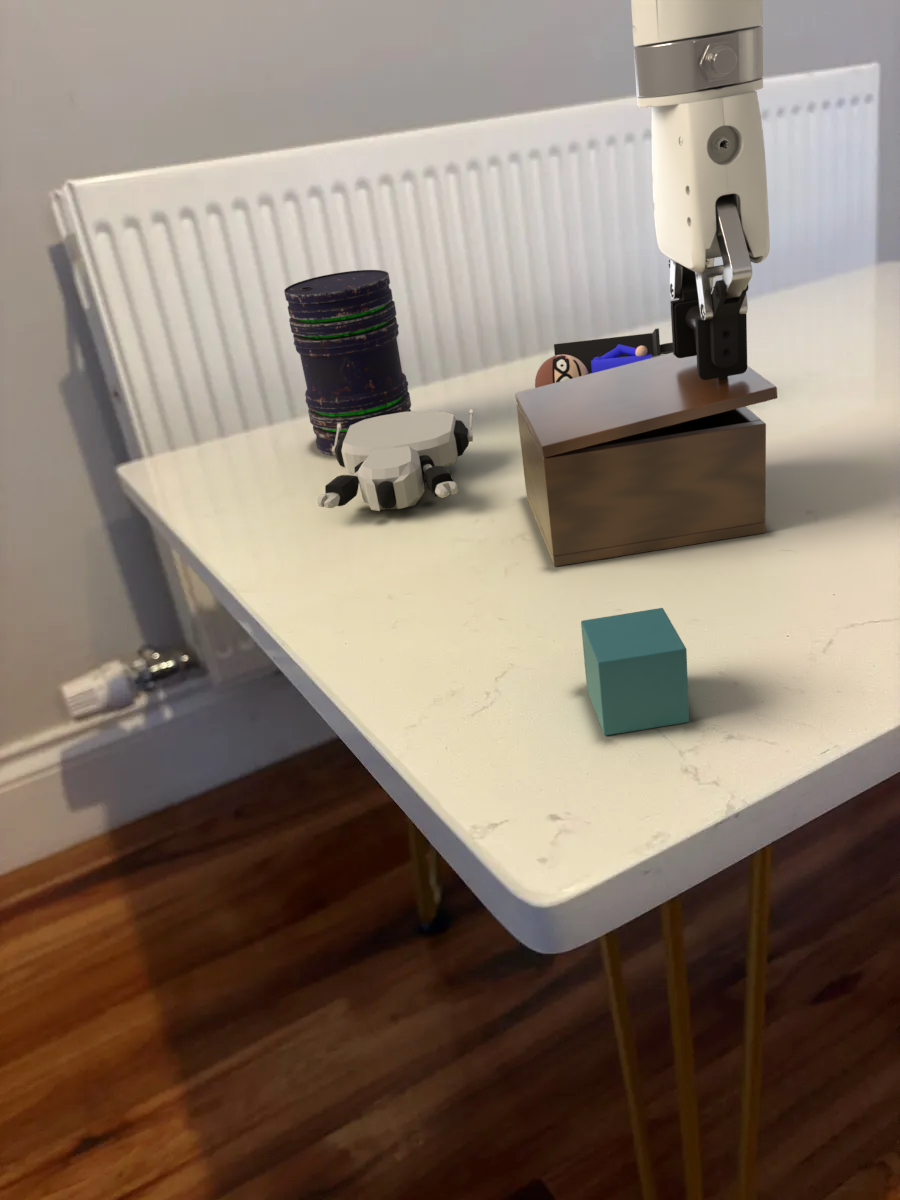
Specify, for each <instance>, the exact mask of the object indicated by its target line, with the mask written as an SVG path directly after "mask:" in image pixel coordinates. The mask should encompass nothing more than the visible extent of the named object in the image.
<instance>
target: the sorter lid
mask: <svg viewBox="0 0 900 1200" xmlns="http://www.w3.org/2000/svg"><path fill="white" fill-rule="evenodd" d="M698 318H701V315H700V307H699V306H694V307H692V308H690V309H689V310H688V312H687V314H686V317H685V320H686V324H687V325H688V326H689V327H690V328H691V329H693V330H694V336H695V344H696V327H695V319H698ZM696 352H697V351H696ZM514 397H515V402H516V404H518V406H519V408H520V410H521V412H522V414H523V416H524V418H525V420H526V422H527V424H528V426H529V428H530V430H531V432H532V434H533V436H534V438H535V440H536V443H537V445H538V447H539V449H540V451H541V453H542V455H543V457H549V456H553V455H557V454H561V453H565V452H569V451H573V450H577V449H580V448H584V447H588V446H592V445H596V444H600V443H604V442H608V441H612V440H616V439H620V438H624V437H628V436H632V435H635V434H639V433H643V432H647V431H651V430H655V429H659V428H663V427H667V426H671V425H675V424H679V423H683V422H686V421H690V420H694V419H698V418H702V417H706V416H710V415H714V414H718V413H722V412H726V411H730V410H734V409H738V408H741V407H749V406H753V405H757V404H761V403H764V402H768V401H769V402H770V401H772V400H776V399H778V388H777V386H776V385H775V384H774V383H772V382H770V381H769V380H768V379H766V377H764V376H763V375H761V374H760V373H758V372H757V371H756V370H754V369H753V368H752V367H751V366H749V365H747V370H746V371H745V372H744V373H742V374H737V375H732V376H726V377H720V378H714V379H709V380H702V379H701V378H700V377H699V376H698V374H697V355H696V356H691V357H685V358H677V357H676V356H675V355H674V354H673V353H669V354H662V355H661V356H658V357H654V358H650V359H646V360H642V361H638V362H634V363H630V364H626V365H623V366H619V367H615V368H611V369H607V370H603V371H599V372H595V373H591V374H588V375H584V376H580V377H576V378H572V379H568V380H564V381H560V382H557V383H553V384H549V385H545V386H541V387H537V388H535V387H533V388H530V389H526V390H522V391H518V392H515V393H514Z"/></svg>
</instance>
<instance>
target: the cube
mask: <svg viewBox="0 0 900 1200" xmlns="http://www.w3.org/2000/svg"><path fill="white" fill-rule="evenodd" d="M580 626H581V627H580V628H581V640H582V650H583V661H584V673H585V683H586V684H585V685H586V691H587V694H588V697H589V699H590V702H591V704H592V707H593V709H594V713H595V715H596V718H597V720H598V722H599V726H600V728H601V731H602V734H603V736H604V737H605V736H613V735H617V734H623V733H630V732H636V731H642V730H649V729H655V728H660V727H661V728H662V727H666V726H667V727H668V726H672V725H673V726H674V725H680V724H685V723H689V722H690V709H689V705H690V704H689V682H688V678H689V677H688V651H687V648H686V645H685V643H684V642H683V640H682V639H681V637H680V634H679V633H678V631H677V630H676V628H675V627H674V624H673V623H672V622H671V619H670V618H669V616H668V614H667V613H666V611H665V609H664V608H663V607H658V608H651V609H645V610H640V611H634V612H627V613H622V614H614V615H609V616H602V617H597V618H590V619H584V620H581V621H580Z"/></svg>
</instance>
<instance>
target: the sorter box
mask: <svg viewBox="0 0 900 1200" xmlns="http://www.w3.org/2000/svg"><path fill="white" fill-rule="evenodd" d="M516 413H517V422H518V430H519V439H520V448H521V449H520V450H521V459H522V467H523V476H524V485H525V494H526V500H527V502H528V505H529V508H530V510H531V512H532V515H533V517H534V520H535V523H536V524H537V527H538V529H539V532H540V534H541V538H542V539H543V542H544V544H545V546H546V549H547V551H548V555H549V557H550V559H551V562H552V564H553V566H554V567H560V566H566V565H572V564H573V565H574V564H578V563H585V562H591V561H597V560H604V559H609V558H616V557H622V556H628V555H634V554H640V553H641V554H642V553H647V552H653V551H660V550H666V549H671V548H678V547H685V546H692V545H697V544H703V543H709V542H717V541H722V540H726V539H735V538H740V537H744V536H745V537H747V536H752V535H759V534H764V533H766V509H767V508H766V504H767V503H766V501H767V500H766V499H767V497H766V496H767V495H766V490H767V489H766V488H767V486H766V485H767V484H766V483H767V476H766V475H767V471H766V470H767V469H766V467H767V424H766V422H765V421H764V420H762V419H761V418H760V417H758V416H757V414H755V413H754V412H753V411H751V410H750V409H749V408H748V406H745V407H741V408H738V409H734V410H730V411H726V412H722V413H718V414H714V415H710V416H706V417H702V418H698V419H694V420H690V421H686V422H683V423H679V424H675V425H671V426H667V427H663V428H659V429H655V430H651V431H647V432H643V433H639V434H635V435H632V436H628V437H624V438H620V439H616V440H612V441H608V442H604V443H600V444H596V445H592V446H588V447H584V448H580V449H577V450H573V451H569V452H565V453H561V454H557V455H553V456H549V457H543V455H542V453H541V451H540V449H539V447H538V445H537V443H536V440H535V438H534V436H533V434H532V432H531V430H530V428H529V426H528V424H527V422H526V420H525V418H524V416H523V414H522V412H521V410H520V408H519V406H518V404H517V403H516Z"/></svg>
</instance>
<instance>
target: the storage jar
mask: <svg viewBox="0 0 900 1200" xmlns="http://www.w3.org/2000/svg"><path fill="white" fill-rule="evenodd" d="M389 273H390V272H388V271H386V270H383V269H382V270H381V269H360V270H349V271H342V272H341V271H340V272H334V273H330V274H325V275H324V274H323V275H320V276H316V277H312V278H311V277H310V278H308V279H304V280H301V281H297V282H296V283H293V284H291V285H289V286H287V287H286V288H284V291H283V293H284V297H285V300H286V302H287V304H288V306H287V311H288V315H289V319H288V322H289V327H290V331H291V333H292V334H293V335H292V337H293V340H294V341H293V346H295V347H294V348H295V351H296V353H298V354H299V357H300V361H301V367H302V371H303V376H304V381H305V385H306V390H305V392H304V396H305V403H306V406H307V408H308V410H307V412H308V413H307V414H308V418H309V421H310V424H311V425H312V431H313V433H314V435H315V438H316V439H315V445H316V450H318V451H319V452H320V453H322V454H325V455H328V456H333V454H332V446H334V444H335V438H336V433H337V424H339V423H340V424H341V431H340V434H339V439H340V438H341V436H342V434H343V433H345V432H348V429H349V427H350V426H351V425H353V424H355V423H357V422H360V421H362V420H365V419H369V418H373V417H378V416H382V415H388V414H394V413H400V412H412V410H411V407H412V402H411V401H412V400H411V395H410V392H409V391H408V390H409V387H408V386H409V382H408V380H407V375H406V374H405V373H404V372H403V368H402V362H401V356H400V351H399V344H398V339H397V338H398V336H399V333H400V332H399V327H400V326H399V324H398V320H397V317H396V316H397V309H396V308H397V307H396V302H395V301H394V300H393V292H392V289H391V288H390V284H391V279H390V274H389ZM338 441H339V440H338Z"/></svg>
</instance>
